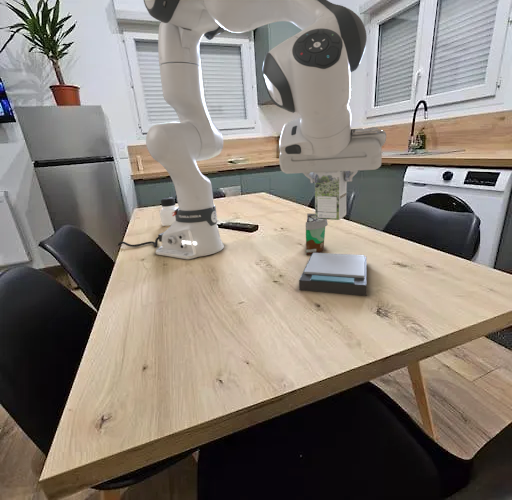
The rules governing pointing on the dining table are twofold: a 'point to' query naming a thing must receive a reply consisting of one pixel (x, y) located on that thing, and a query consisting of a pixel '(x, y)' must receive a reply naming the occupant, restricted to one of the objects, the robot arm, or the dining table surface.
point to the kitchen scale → (335, 274)
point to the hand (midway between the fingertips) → (331, 180)
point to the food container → (315, 234)
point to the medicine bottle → (168, 211)
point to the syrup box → (330, 195)
